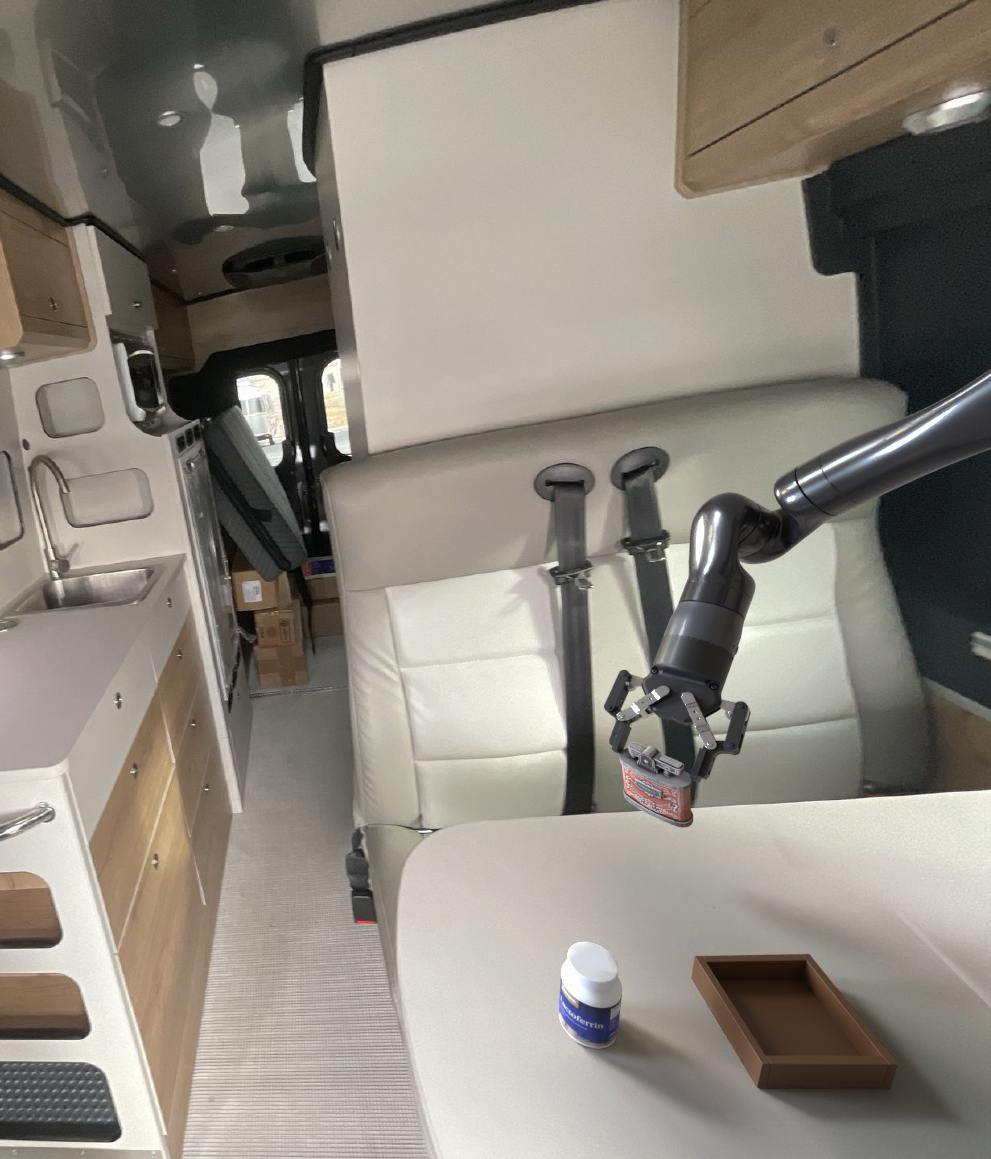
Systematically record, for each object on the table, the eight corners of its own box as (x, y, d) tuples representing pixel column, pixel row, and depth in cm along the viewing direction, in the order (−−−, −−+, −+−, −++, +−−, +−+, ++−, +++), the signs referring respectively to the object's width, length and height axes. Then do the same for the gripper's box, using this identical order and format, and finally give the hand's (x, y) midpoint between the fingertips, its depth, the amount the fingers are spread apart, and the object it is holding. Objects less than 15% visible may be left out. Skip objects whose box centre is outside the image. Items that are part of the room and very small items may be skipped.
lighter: (617, 798, 87) (611, 745, 82) (633, 782, 88) (627, 729, 84) (683, 833, 80) (680, 777, 76) (699, 815, 81) (697, 759, 77)
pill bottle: (549, 1028, 73) (552, 964, 69) (569, 989, 77) (573, 927, 73) (607, 1063, 69) (613, 997, 65) (625, 1021, 73) (632, 956, 69)
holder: (803, 976, 74) (809, 953, 73) (890, 1089, 63) (898, 1064, 62) (691, 978, 76) (694, 955, 74) (756, 1088, 65) (762, 1064, 64)
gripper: (628, 620, 86) (583, 736, 84) (765, 650, 75) (718, 784, 73) (642, 640, 91) (601, 750, 89) (773, 671, 80) (729, 797, 78)
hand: (654, 765), depth 81 cm, fingers closed on lighter, 8 cm apart
